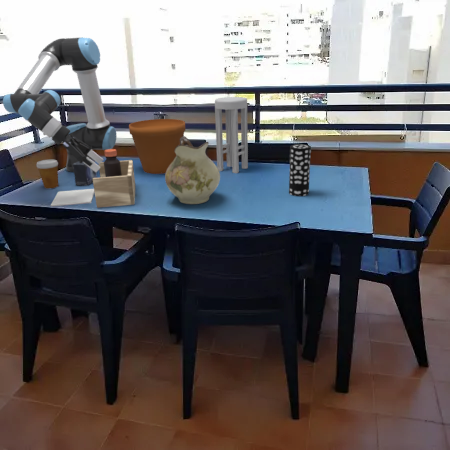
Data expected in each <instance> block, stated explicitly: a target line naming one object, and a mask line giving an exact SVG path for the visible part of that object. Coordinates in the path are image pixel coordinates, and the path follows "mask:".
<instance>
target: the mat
mask: <svg viewBox="0 0 450 450" xmlns="http://www.w3.org/2000/svg"><path fill="white" fill-rule="evenodd" d="M94 196H95V192H94V188H86V189H73V190H60V191H57V193H56V194H55V196H54V199H53V200H52V202H51V204H50V206H51V207H59V206H61V207H62V206H70V205H82V204H92V201H93V199H94Z"/></svg>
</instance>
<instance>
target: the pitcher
mask: <svg viewBox="0 0 450 450" xmlns="http://www.w3.org/2000/svg"><path fill="white" fill-rule="evenodd" d="M179 141H180V145H178V146H177V147H175V150H174V152H175V153H176V157H175V158H174V160H173V162H172V163H171V164H170V165H169V167H168V169H167V171H166V173H164V176H165V177H164V180H165V185H166V186H167V189H168V190H169V191H170V193H172V195H174V196H175V197H176V198H178V201H179V202H180V203H182V204H186V205H198V204H199V205H200V204H203V203H206V202H208V201H209V200H210V196H211V195H212V194H213V193H214V192H215V190H216V189H217V188H218V186H219V185H220V181H221V174H220V173H221V171H219V170H218V168H217V164H215V162H214V161H213V160H211V158H209V156H208V155H207V154H206V149H207V148H208V146H209V144H210V142H209V141H206V142H204V143H202V144H201V145H200V146H193V145H194V144H192V142H191V140H189V138H187V136H182V137H181V138H180V140H179Z"/></svg>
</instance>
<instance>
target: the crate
mask: <svg viewBox="0 0 450 450" xmlns="http://www.w3.org/2000/svg"><path fill="white" fill-rule="evenodd" d="M119 161H120V165H121V173H122V176H114V177H106V176H105V169H104V162H105V161H102V162H101V163H100V164H98V166H100V169H99V170H98V172H99V177H97V178H93V183H92V184H93V189H94V197H95V204H96V208H107V207H108V208H109V207H121V206H131V205H133V206H134V205H135V200H136V177H135V172H134V169H135V168H134V162H133V159H128V160H127V159H126V160H119Z"/></svg>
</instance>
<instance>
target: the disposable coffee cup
mask: <svg viewBox="0 0 450 450" xmlns="http://www.w3.org/2000/svg"><path fill="white" fill-rule="evenodd" d="M58 165H59V162H58V160H56V159H43V160H39V161H37V162H36V168H37V169H38V173H39V176H40V178H41V182H42V185H43V187H44V189H55V188H58V187H59V186H60V185H59V169H58V168H59V166H58Z"/></svg>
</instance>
